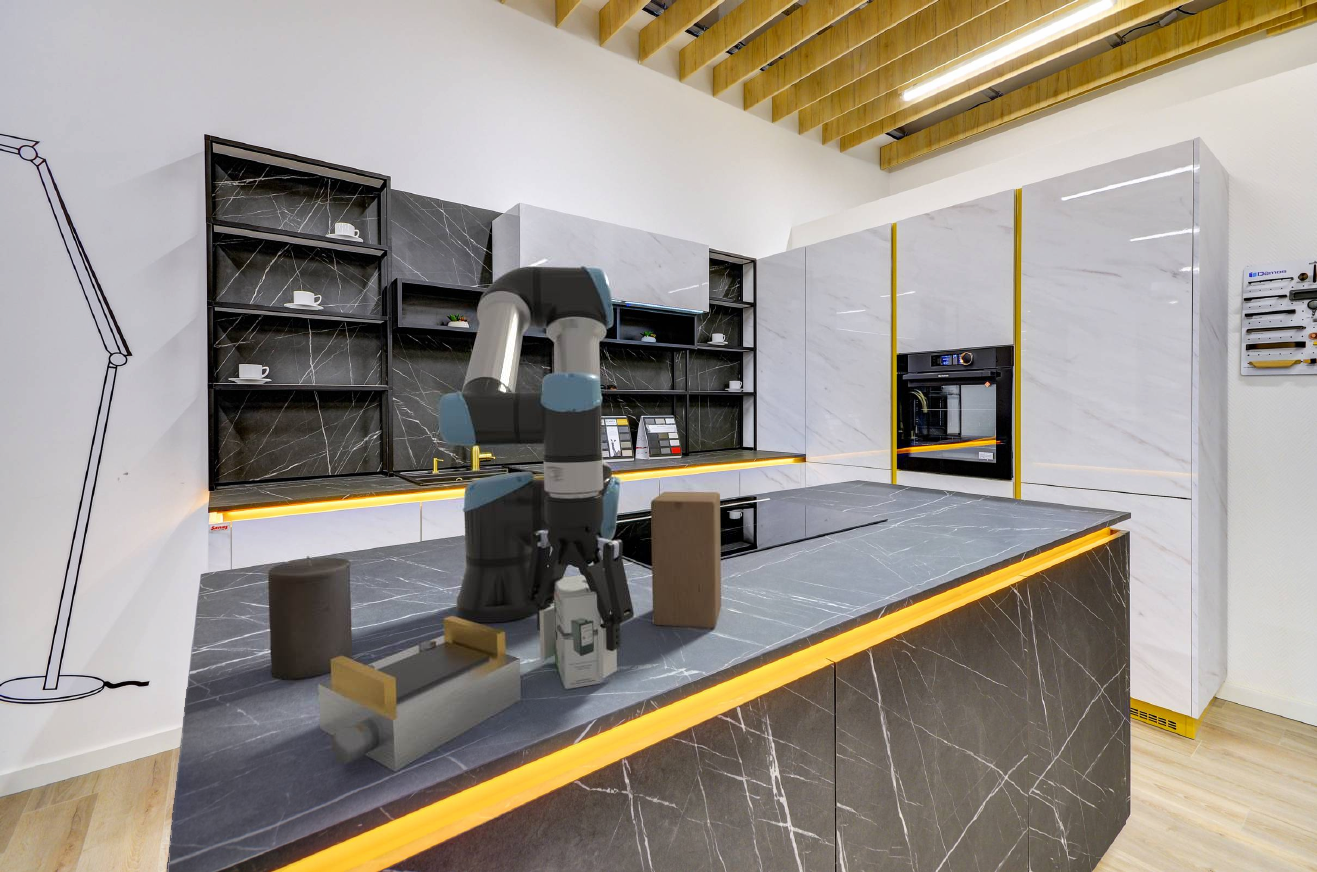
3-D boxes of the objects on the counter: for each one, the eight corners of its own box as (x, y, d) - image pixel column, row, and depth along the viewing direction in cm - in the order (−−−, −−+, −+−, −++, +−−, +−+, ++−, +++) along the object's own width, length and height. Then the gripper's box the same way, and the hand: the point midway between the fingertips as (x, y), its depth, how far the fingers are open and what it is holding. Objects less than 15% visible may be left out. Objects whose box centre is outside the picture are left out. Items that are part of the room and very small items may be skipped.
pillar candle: (263, 686, 73) (259, 568, 72) (278, 656, 82) (275, 551, 81) (350, 672, 77) (347, 560, 76) (355, 644, 86) (353, 545, 85)
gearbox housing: (290, 742, 60) (286, 667, 60) (446, 671, 76) (444, 612, 76) (364, 789, 52) (360, 703, 52) (520, 699, 68) (519, 633, 68)
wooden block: (715, 629, 89) (713, 501, 88) (652, 625, 91) (650, 500, 90) (721, 607, 99) (720, 491, 98) (664, 604, 101) (662, 491, 100)
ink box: (553, 661, 78) (551, 576, 78) (589, 656, 80) (587, 572, 80) (564, 690, 70) (561, 595, 70) (604, 683, 72) (602, 590, 71)
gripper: (493, 491, 77) (498, 656, 78) (624, 504, 65) (628, 698, 66) (534, 485, 83) (538, 637, 84) (661, 495, 71) (664, 673, 72)
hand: (577, 664), depth 75 cm, fingers closed on ink box, 9 cm apart
